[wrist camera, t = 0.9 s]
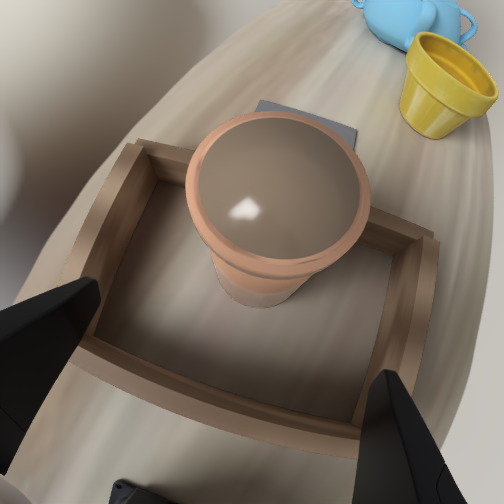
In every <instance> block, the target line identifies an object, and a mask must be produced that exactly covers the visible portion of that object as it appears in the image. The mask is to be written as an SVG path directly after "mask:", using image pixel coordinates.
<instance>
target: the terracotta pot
mask: <svg viewBox="0 0 504 504" xmlns="http://www.w3.org/2000/svg"><path fill="white" fill-rule="evenodd" d="M185 187H186V199H187V203H188V208H189V211H190V214H191V216H192V219H193V222H194V224H195V227H196V229H197V231H198V233H199V235H200V236H201V238H202V240H203V241H204V242H205V244H206V245H207V246H208V248H209V250H210V253H211V256H212V260H213V263H214V266H215V270H216V273H217V276H218V279H219V281H220V284H221V285H222V287H223V289H224V290H225V291H226V293H227V294H228V295H229V296H230V297H231V298H233V299H234V300H235V301H237V302H239V303H241V304H243V305H245V306H249V307H254V308H267V307H272V306H275V305H277V304H280V303H281V302H283V301H285V300H286V299H287V298H289V297H290V296H291V295H292V294H293V293H294V292H295V291H296V290H297V289H298V288H299V287H300V286H301V285H302V284H303V283H304V282H305V281H306V280H307V279H309V278H310V277H311V276H312V275H313V274H315V273H317V272H320V271H322V270H324V269H326V268H327V267H329V266H330V265H332V264H333V263H335V262H336V261H337V260H338V259H339V258H340V257H342V256H343V255H344V254H345V253H346V252H347V251H348V250H349V249H350V248H351V247H352V246H353V245H354V243H355V242H356V241H357V240H358V238H359V237H360V235H361V233H362V232H363V230H364V227H365V225H366V223H367V220H368V216H369V212H370V202H371V196H370V186H369V181H368V178H367V175H366V172H365V169H364V167H363V165H362V163H361V161H360V159H359V158H358V156H357V155H356V153H355V152H354V150H353V149H352V148H351V147H350V145H349V144H348V143H347V142H346V141H345V140H344V139H343V138H342V137H341V136H339V135H338V134H337V133H336V132H334V131H333V130H332V129H330V128H328V127H327V126H325V125H323V124H322V123H320V122H318V121H315V120H313V119H311V118H308V117H305V116H302V115H298V114H294V113H289V112H282V111H261V112H255V113H249V114H246V115H242V116H239V117H236V118H234V119H231V120H229V121H227V122H226V123H224V124H222V125H220V126H219V127H217V128H216V129H215V130H213V131H212V132H211V133H210V134H209V135H208V136H207V137H206V138H205V139H204V140H203V141H202V142H201V144H200V145H199V146H198V148H197V149H196V151H195V153H194V154H193V156H192V159H191V161H190V163H189V167H188V170H187V174H186V184H185Z"/></svg>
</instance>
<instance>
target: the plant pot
mask: <svg viewBox="0 0 504 504" xmlns="http://www.w3.org/2000/svg"><path fill="white" fill-rule="evenodd" d="M406 64H407V67H408V70H407V74H406V78H405V83H404V87H403V91H402V95H401V99H400V103H399V107H400V111H401V114H402V116H403V118H404V119H405V121H406V122H407V123H408V124H409V125H410V126H411V127H412V128H413V129H414V130H415V131H417V132H418V133H420V134H421V135H423V136H425V137H428V138H431V139H440V138H443V137H444V136H446V135H447V134H448V133H450V132H451V131H453V130H454V129H455V128H457V127H458V126H460V125H461V124H463V123H464V122H466V121H467V120H469V119H470V118H478V117H481V116H483V115H484V114H485V113H486V112H487V110H488V109H489V108H490V107H491V106H492V105H493V104H494V103H495V101H496V100H497V98H498V89H497V86H496V84H495V82H494V80H493V78H492V77H491V75H490V74H489V73H488V72H487V70H486V69H485V68H484V67H483V65H482V64H481V63H480V62H479V61H478V60H477V59H476V58H475V57H473V56H472V55H471V54H470V53H469V52H467V51H466V50H465V49H463V48H462V47H461V46H459V45H458V44H456V43H454V42H453V41H451V40H449V39H447V38H445V37H443V36H441V35H438V34H435V33H431V32H419V33H417V34H416V35H415V37H414V39H413V41H412V43H411V45H410V47H409V50H408V52H407V55H406Z"/></svg>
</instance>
